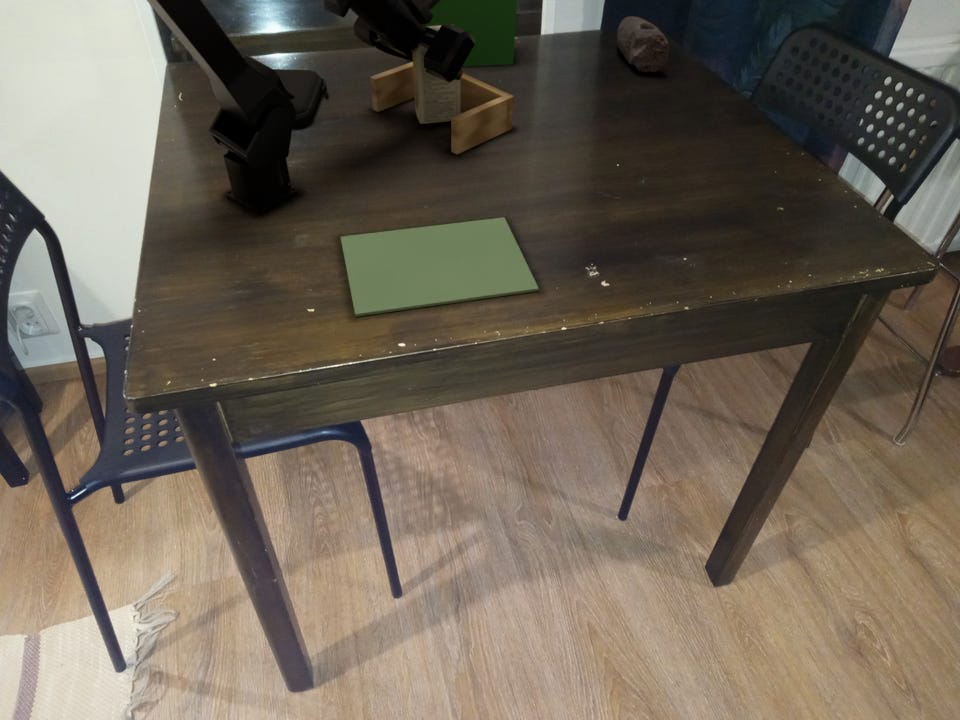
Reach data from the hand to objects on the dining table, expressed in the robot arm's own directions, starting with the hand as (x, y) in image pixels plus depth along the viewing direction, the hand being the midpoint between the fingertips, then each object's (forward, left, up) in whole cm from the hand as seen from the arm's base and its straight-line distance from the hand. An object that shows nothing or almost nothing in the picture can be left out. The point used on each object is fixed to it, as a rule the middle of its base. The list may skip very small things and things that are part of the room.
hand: (444, 69), depth 99 cm
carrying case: (-12, +20, -7) cm, 25 cm away
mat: (-28, -22, -7) cm, 36 cm away
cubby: (-1, 0, -7) cm, 7 cm away
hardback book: (+19, +12, -7) cm, 24 cm away
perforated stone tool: (+38, -12, -7) cm, 40 cm away
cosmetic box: (-1, 0, -7) cm, 7 cm away
